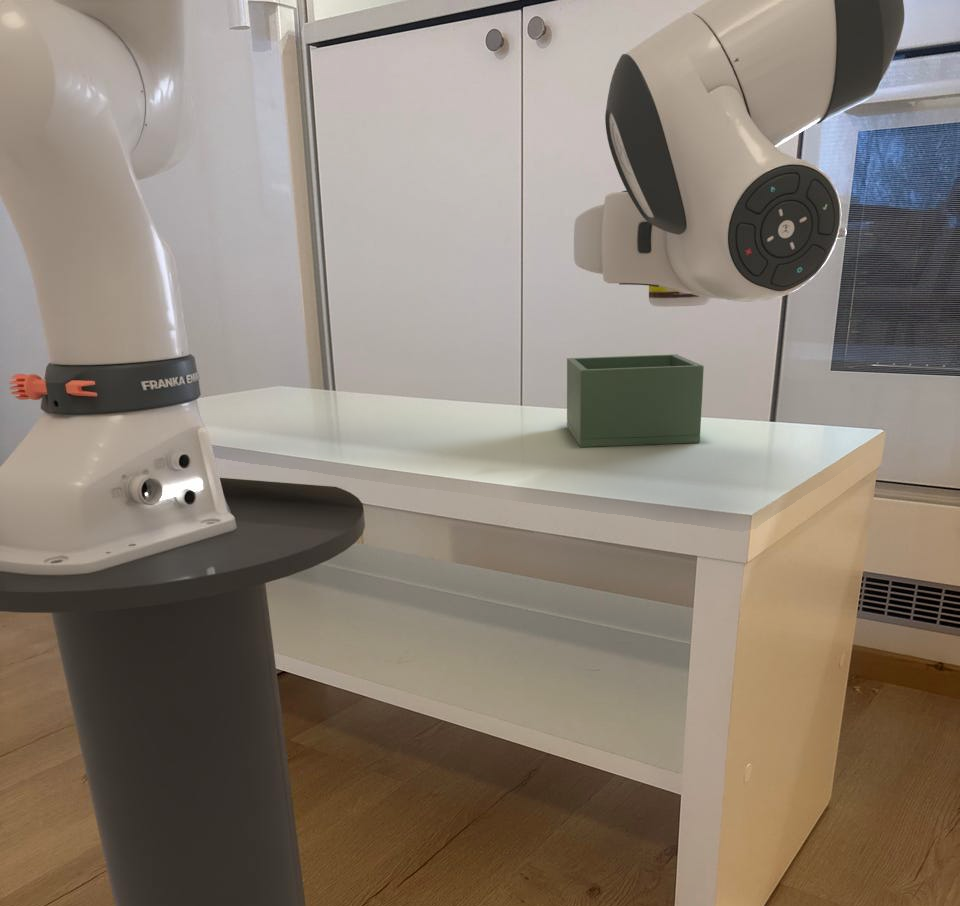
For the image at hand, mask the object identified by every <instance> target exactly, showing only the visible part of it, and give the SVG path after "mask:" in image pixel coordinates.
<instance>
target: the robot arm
mask: <svg viewBox="0 0 960 906" xmlns="http://www.w3.org/2000/svg"><path fill="white" fill-rule="evenodd" d="M904 25H905V4H904V0H708V1H707V2H705V3H703V4H702V5H700V6H698V7H697V8H695V9H694V10H692V11H691V12H687V13H685V14H683V15H682V16H680V17H678V18H677V19H675V20H674V21H672V22H670V23H669V24H667V25H666V26H664V27H663V28H660V30H658V31H657V32H655V33H653V34H652V35H651V36H649V37H648V38H646V39H645V40H643V41H642V42H640V43H639V44H637V45H635V46H634V47H632V48H630V50H628V51H627V52H625V53H622V54H621V55H620V57H619V59H618V61H617V63H616V65H615V68H614V69H613V74H612V76H611V80H610V84H609V88H608V93H607V101H606V109H605V115H604V120H605V122H604V123H605V131H606V138H607V142H608V146H609V150H610V154H611V156H612V159H613V162H614V165H615V167H616V170H617V173H618V175H619V177H620V179H621V182H622V184H623V186H624V188H625V190H621V191H620V192H619V191H617V192H616V191H615V192H610V193H608V194H606V195H605V197H604V203H603V204H600V205H596V206H592V207H591V208H588V209H586V210H585V211H583V212H582V213H580V214H579V215H577V217H576V218H575V219H574V225H573V261H574V265H576V266H577V267H578V268H580V269H583V270H585V271H587V272H589V273H594V274H598V275H599V274H600V275H602V279H603V282H605V283H606V284H618V285H621V286H622V285H628V286H648V287H649V286H654V287H659V286H662V287H665V288H669V289H672V290H675V291H678V292H681V293H685V294H693V295H697V296H703V297H710V298H711V299H718V300H727V301H732V302H738V303H739V302H740V303H741V302H742V303H756V302H764V301H769V300H774V299H777V298H782V297H784V296H788V295H789V294H792V293H793V292H796V291H797V290H799V289H801V288H802V287H803V286H805V285H806V284H807V283H809V282H810V281H811V280H812V279H814V277H815V276H816V275H817V274H818V273H819V272H820V271H821V270H822V268H823V267H824V266H825V264H826V263H827V262H828V260H829V258H830V256H831V254H832V252H833V250H834V249H835V246H836V243H837V240H839V239H844V238H846V235H847V227H846V226H841V223H842V205H841V200H840V196H839V193H838V190H837V187H836V186H835V184H834V182H833V181H832V180H831V178H830V177H829V176H828V175H827V174H826V173H825V172H824V171H823V170H822V169H820V167H818V166H816V165H815V164H813V163H811V162H808V161H806V160H804V159H800V158H798V157H794V156H792V155H789V154H787V153H786V152H784V151H783V150H781V149H779V147H778V146H781V145H782V144H783V143H785V142H787V141H788V140H790V139H793V138H794V137H795V136H797V135H798V134H800V133H802V132H803V131H805V130H807V129H808V128H811V126H813V125H815V124H816V125H817V124H818V125H819V124H821V123H823V122H825V121H827V120H830V119H832V118H833V117H835V116H837V115H839V114H841V113H843V112H845V111H847V110H850V109H852V108H855V107H856V106H858V105H861V104H862V103H864V102H866V101H869V100H870V99H871V98H872V97H873V96H874V95H875V93H876V92H877V90H878V89H879V87H880V86H881V84H882V82H883V80H884V78H885V76H886V74H887V73H888V71H889V69H890V66H891V64H892V62H893V60H894V57H895V54H896V51H897V49H898V47H899V46H898V45H899V43H900V40H901V36H902V33H903V29H904ZM195 108H196V107H195V102H194V99H193V97H192V93H191V90H190V87H189V84H188V79H187V0H0V199H1V201H2V204H3V206H4V207H5V209H6V211H7V213H8V216H9V218H10V220H11V222H12V225H13V227H14V229H15V231H16V234H17V236H18V238H19V241H20V243H21V246H22V249H23V251H24V253H25V254H24V255H25V257H26V260H27V263H28V267H29V270H30V274H31V276H32V280H33V285H34V290H35V295H36V299H37V304H38V308H39V313H40V317H41V322H42V327H43V332H44V336H45V341H46V347H47V351H48V356H49V361H50V362H49V363H48V364H47V365H46V366H45V367H46V368H45V373H44V378H42V377H41V376H40V375H38V374H35V373H31V374H25V373H15V374H13V375H12V376H11V378H10V379H11V381H9V384H8V385H13V386H9V390H14V391H11V392H10V393H11V394H12V395H17V396H15V399H17V400H33V401H38V400H39V401H40V409H41V410H42V411H43V413H42V415H40V418H39V419H38V420H37V421H36V422H35V423H34V425H33V426H32V427H31V428H30V430H29V431H28V432H27V434H26V435H25V436H24V437H23V439H22V440H21V442H20V443H19V444H18V445H17V446H16V447H15V449H14V450H13V451H12V452H11V454H10V455H9V456H7V458H6V459H5V460H4V461H3V463H2V464H1V465H0V571H2V572H9V573H17V574H28V575H54V576H56V575H78V574H88V573H93V572H97V571H100V570H104V569H107V568H110V567H114V566H117V565H120V564H124V563H127V562H130V561H134V560H137V559H140V558H144V557H147V556H150V555H154V554H157V553H160V552H164V551H167V550H170V549H174V548H177V547H180V546H184V545H187V544H190V543H194V542H197V541H200V540H204V539H207V538H210V537H214V536H217V535H220V534H224V533H227V532H230V531H233V530H235V529H236V528H237V525H236V521H235V517H234V516H233V515H232V514H231V511H230V509H229V507H228V505H227V502H226V500H225V497H224V494H223V490H222V486H221V482H220V478H221V477H220V474H219V469H218V465H217V462H216V457H215V454H214V450H213V446H212V441H211V438H210V435H209V432H208V430H207V428H206V426H205V424H204V421H203V418H202V416H201V413H200V410H199V404H198V399H199V398H200V397H201V395H202V394H201V387H200V386H201V385H200V379H201V378H200V373H199V371H198V369H197V363H196V357H195V356H194V355H193V354H191V353H190V351H189V350H190V349H189V342H188V336H187V329H186V322H185V315H184V308H183V307H184V306H183V301H182V294H181V287H180V280H179V273H178V266H177V265H178V264H177V261H176V259H175V256H174V254H173V252H172V250H171V248H170V246H169V245H168V243H167V242H166V241H165V240H164V238H163V237H162V235H161V234H160V233H159V231H158V229H157V227H156V225H155V223H154V221H153V218H152V216H151V214H150V212H149V210H148V207H147V205H146V202H145V199H144V196H143V194H142V192H141V188H140V185H139V183H138V181H139V180H140V181H141V180H145V179H149V178H151V177H155V176H157V175H160V174H162V173H165V172H167V171H169V170H171V169H173V168H174V167H176V166H177V165H178V164H179V163H180V162H182V160H183V159H184V158H185V157H186V155H187V154H188V152H189V150H190V149H191V146H192V144H193V140H194V138H195V133H196V126H197V125H196V123H197V117H196V109H195Z"/></svg>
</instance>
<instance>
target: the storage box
mask: <svg viewBox="0 0 960 906" xmlns="http://www.w3.org/2000/svg"><path fill="white" fill-rule="evenodd" d="M704 370H705V366H704V365H702V364H700V363H698V362H695V361H693V360H690V359H689V358H687V357H684V356H681V355H679V354H677V353H676V354H675V353H674V354H672V353H671V354H649V355H648V354H647V355H622V356H621V355H620V356H594V357H593V356H592V357H568V358H566V428H567V430H568V431H569V433H570V434H571V435H572V437H573V438H574V440H575V441H576V443H577V444H578V446H579V447H580V448H591V447H592V448H594V447H595V448H596V447H618V446H619V447H620V446H622V447H623V446H645V445H646V446H647V445H672V444H675V445H676V444H698V443H699V444H700V443H701V428H702V427H701V425H702V409H703V407H702V406H703V391H704V390H703V388H704V372H705V371H704Z"/></svg>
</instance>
